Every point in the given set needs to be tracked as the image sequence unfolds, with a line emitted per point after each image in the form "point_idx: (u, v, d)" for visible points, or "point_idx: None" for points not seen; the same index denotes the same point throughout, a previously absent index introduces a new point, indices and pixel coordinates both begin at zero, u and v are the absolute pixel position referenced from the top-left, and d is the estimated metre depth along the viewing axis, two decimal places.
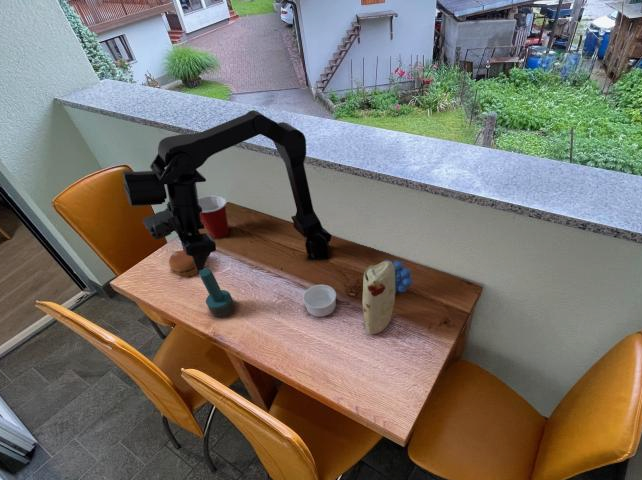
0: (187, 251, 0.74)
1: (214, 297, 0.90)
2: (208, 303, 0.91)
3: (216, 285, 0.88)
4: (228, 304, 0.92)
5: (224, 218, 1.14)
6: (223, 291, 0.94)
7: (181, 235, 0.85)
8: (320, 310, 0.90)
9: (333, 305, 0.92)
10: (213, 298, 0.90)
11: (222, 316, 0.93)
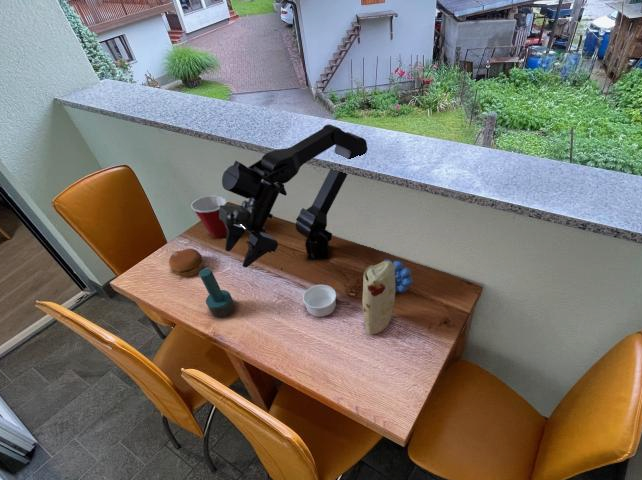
0: (257, 242, 0.81)
1: (214, 297, 0.90)
2: (208, 303, 0.91)
3: (216, 285, 0.88)
4: (228, 304, 0.92)
5: None
6: (223, 291, 0.94)
7: (231, 235, 0.90)
8: (320, 310, 0.90)
9: (333, 305, 0.92)
10: (213, 298, 0.90)
11: (222, 316, 0.93)
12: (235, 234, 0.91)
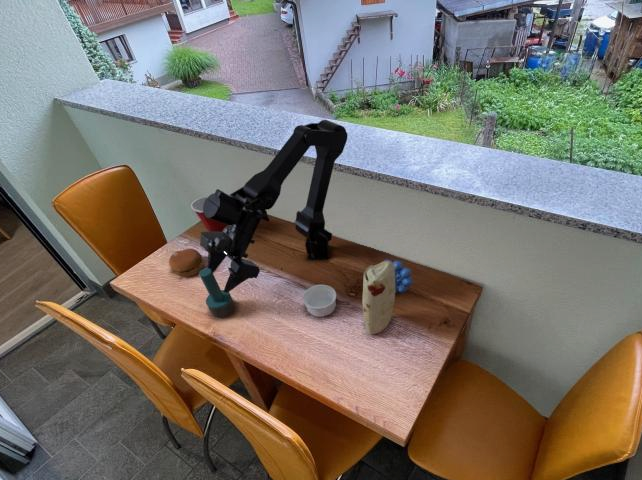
0: (238, 269, 0.81)
1: (214, 297, 0.90)
2: (208, 303, 0.91)
3: (216, 285, 0.88)
4: (228, 304, 0.92)
5: None
6: (223, 291, 0.94)
7: (212, 259, 0.90)
8: (320, 310, 0.90)
9: (333, 305, 0.92)
10: (213, 298, 0.90)
11: (222, 316, 0.93)
12: (217, 258, 0.91)
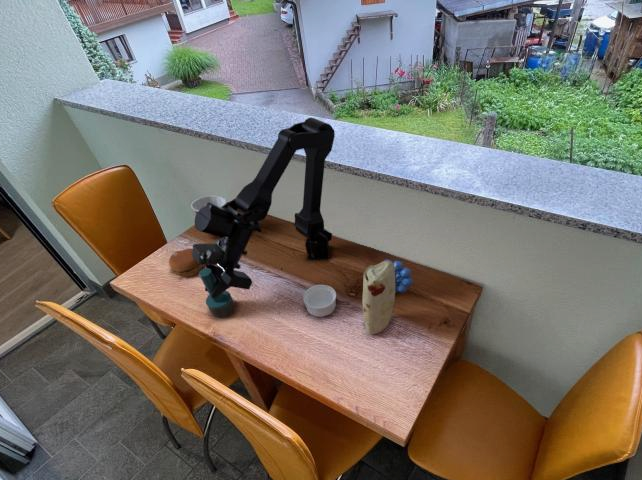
0: (230, 281, 0.81)
1: None
2: (208, 303, 0.91)
3: None
4: (228, 304, 0.92)
5: None
6: None
7: None
8: (320, 310, 0.90)
9: (333, 305, 0.92)
10: (213, 298, 0.90)
11: (222, 316, 0.93)
12: (215, 274, 0.90)
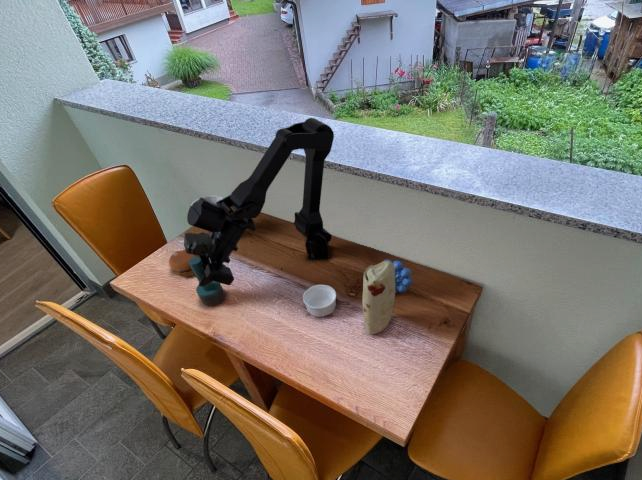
0: (209, 275, 0.83)
1: None
2: (197, 290, 0.94)
3: None
4: (215, 294, 0.94)
5: None
6: None
7: None
8: (320, 310, 0.90)
9: (333, 305, 0.92)
10: (202, 286, 0.93)
11: (209, 304, 0.96)
12: (208, 264, 0.93)
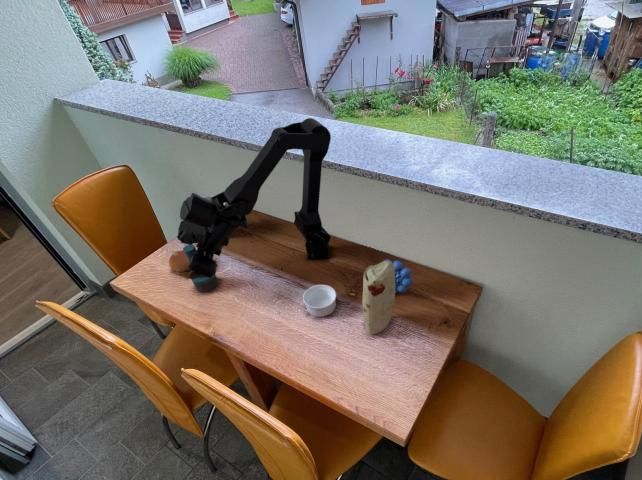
0: (190, 265, 0.85)
1: None
2: None
3: None
4: (205, 283, 0.97)
5: None
6: None
7: None
8: (320, 310, 0.90)
9: (333, 305, 0.92)
10: None
11: (199, 291, 0.99)
12: None
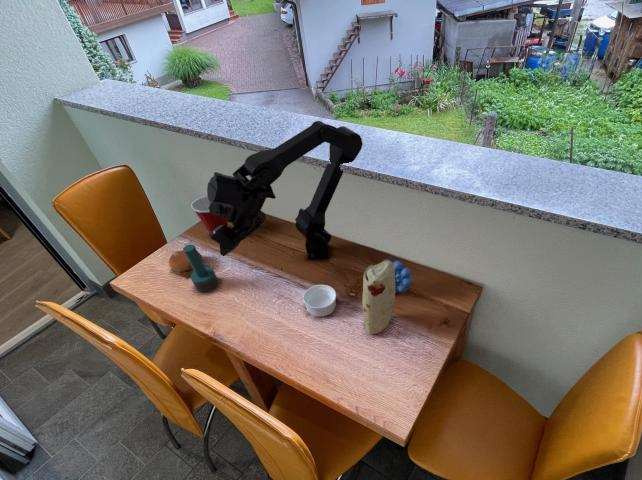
0: (211, 234, 0.85)
1: (195, 272, 0.96)
2: (192, 275, 0.98)
3: (197, 262, 0.94)
4: (205, 283, 0.97)
5: (224, 218, 1.14)
6: (211, 270, 1.00)
7: None
8: (320, 310, 0.90)
9: (333, 305, 0.92)
10: (195, 272, 0.97)
11: (199, 291, 0.99)
12: None
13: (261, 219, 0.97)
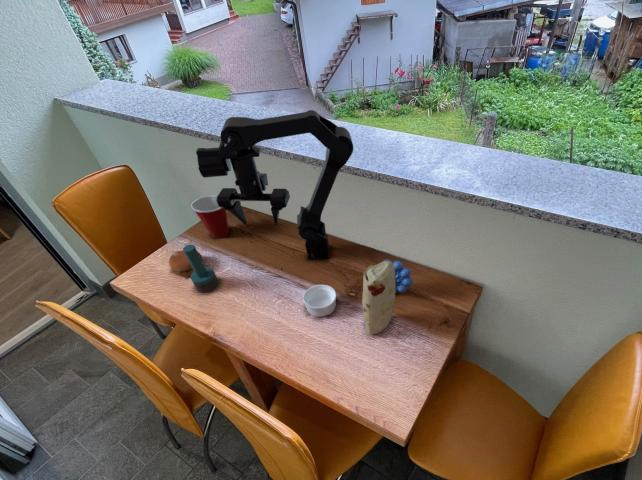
0: None
1: (195, 272, 0.96)
2: (192, 275, 0.98)
3: (197, 262, 0.94)
4: (205, 283, 0.97)
5: (224, 218, 1.14)
6: (211, 270, 1.00)
7: None
8: (320, 310, 0.90)
9: (333, 305, 0.92)
10: (195, 272, 0.97)
11: (199, 291, 0.99)
12: None
13: (272, 199, 0.91)
